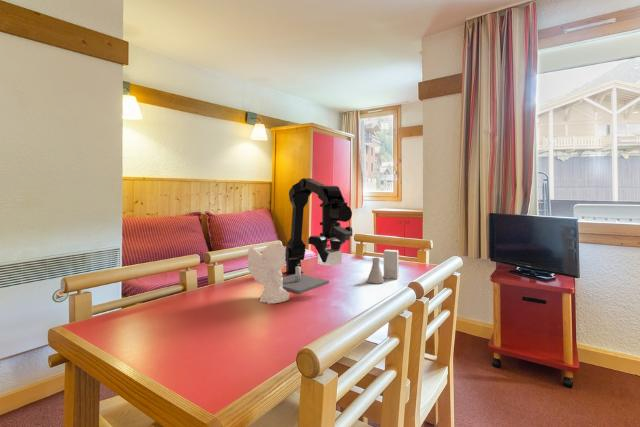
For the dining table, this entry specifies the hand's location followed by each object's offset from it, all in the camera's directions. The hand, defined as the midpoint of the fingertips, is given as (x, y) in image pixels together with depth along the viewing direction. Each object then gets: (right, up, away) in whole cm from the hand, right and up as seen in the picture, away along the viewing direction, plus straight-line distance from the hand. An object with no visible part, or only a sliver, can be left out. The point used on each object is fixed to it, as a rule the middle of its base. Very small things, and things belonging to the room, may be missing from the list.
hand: (329, 260), depth 126 cm
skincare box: (+28, -11, +21) cm, 36 cm away
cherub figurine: (-21, -13, -7) cm, 25 cm away
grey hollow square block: (0, -1, 0) cm, 1 cm away
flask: (+20, -11, +15) cm, 27 cm away
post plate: (-13, -11, +11) cm, 20 cm away
